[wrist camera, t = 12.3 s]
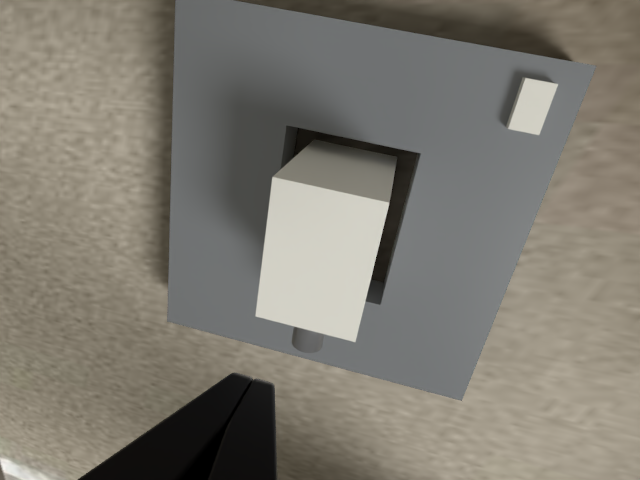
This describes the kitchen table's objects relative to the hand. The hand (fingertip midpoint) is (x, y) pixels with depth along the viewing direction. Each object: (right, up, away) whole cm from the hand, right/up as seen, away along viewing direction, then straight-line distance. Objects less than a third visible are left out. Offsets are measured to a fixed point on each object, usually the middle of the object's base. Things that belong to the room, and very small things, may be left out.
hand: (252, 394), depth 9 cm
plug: (+2, +5, +11) cm, 12 cm away
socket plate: (+2, +5, +11) cm, 12 cm away
